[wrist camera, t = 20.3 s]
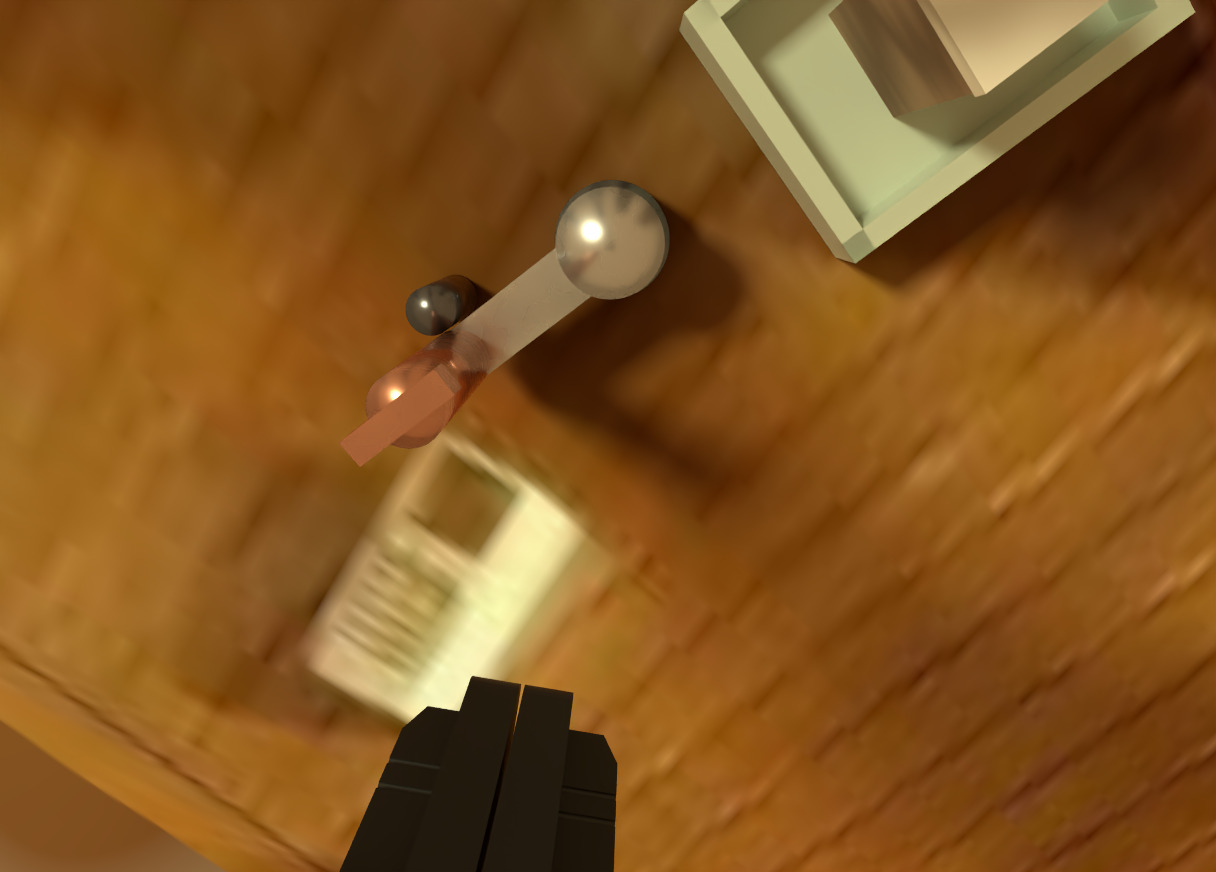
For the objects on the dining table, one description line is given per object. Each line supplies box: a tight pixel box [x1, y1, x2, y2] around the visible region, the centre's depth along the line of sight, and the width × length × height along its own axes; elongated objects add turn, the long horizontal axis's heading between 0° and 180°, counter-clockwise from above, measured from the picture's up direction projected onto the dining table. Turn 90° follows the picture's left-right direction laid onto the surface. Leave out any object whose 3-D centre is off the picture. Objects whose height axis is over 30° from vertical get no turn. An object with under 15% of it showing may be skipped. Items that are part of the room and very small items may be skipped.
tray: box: [679, 0, 1195, 263], centre depth 31 cm, size 12×15×3 cm
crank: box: [339, 187, 665, 467], centre depth 28 cm, size 12×4×11 cm, turn 127°
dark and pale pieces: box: [406, 180, 670, 336], centre depth 34 cm, size 6×16×5 cm, turn 128°
